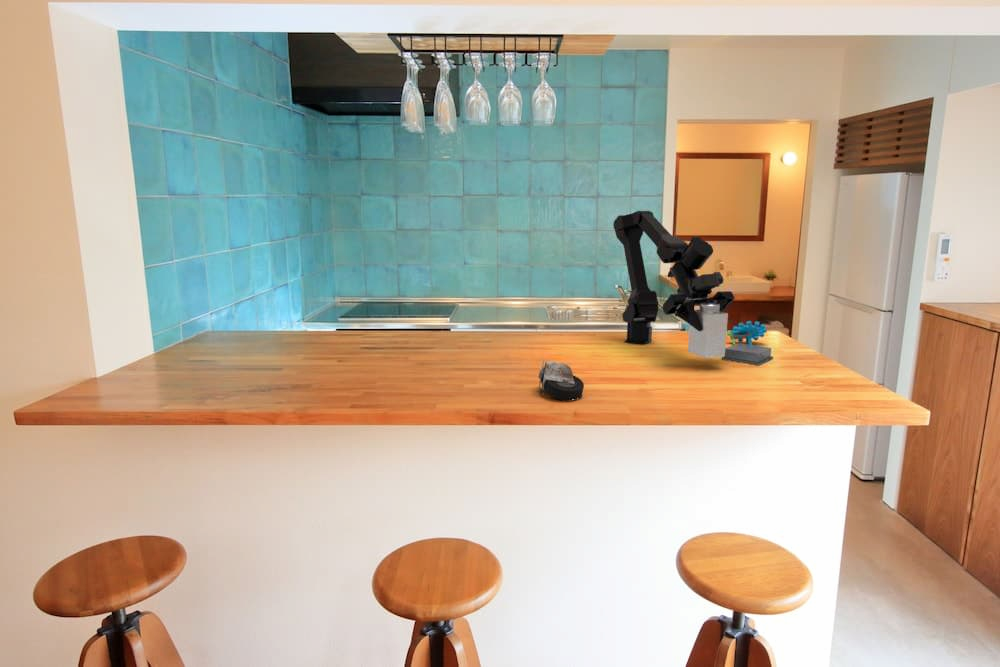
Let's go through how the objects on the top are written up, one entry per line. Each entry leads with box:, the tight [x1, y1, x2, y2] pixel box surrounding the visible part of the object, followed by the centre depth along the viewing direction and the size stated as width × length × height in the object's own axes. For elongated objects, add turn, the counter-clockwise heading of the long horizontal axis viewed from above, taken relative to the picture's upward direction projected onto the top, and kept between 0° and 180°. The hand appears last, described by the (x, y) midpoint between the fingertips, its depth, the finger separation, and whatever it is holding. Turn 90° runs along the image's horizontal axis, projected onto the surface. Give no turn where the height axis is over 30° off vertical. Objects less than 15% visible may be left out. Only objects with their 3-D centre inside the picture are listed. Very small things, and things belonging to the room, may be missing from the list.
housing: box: [687, 302, 729, 359], centre depth 164 cm, size 7×6×13 cm
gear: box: [726, 320, 767, 345], centre depth 190 cm, size 11×6×10 cm
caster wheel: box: [538, 355, 585, 401], centre depth 142 cm, size 7×11×10 cm
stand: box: [721, 342, 774, 366], centre depth 173 cm, size 10×10×3 cm
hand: (711, 329), depth 162 cm, fingers closed on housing, 6 cm apart
